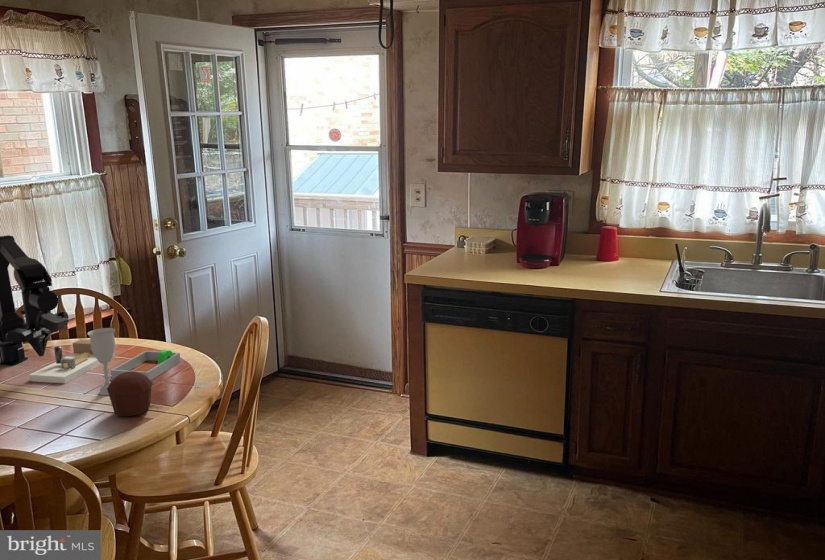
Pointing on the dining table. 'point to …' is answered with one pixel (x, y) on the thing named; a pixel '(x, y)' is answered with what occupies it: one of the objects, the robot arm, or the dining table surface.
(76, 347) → the door board
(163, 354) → the mechanical part
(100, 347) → the chalice
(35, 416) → the dining table surface
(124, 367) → the frame
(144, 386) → the muffin
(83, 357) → the bolt
